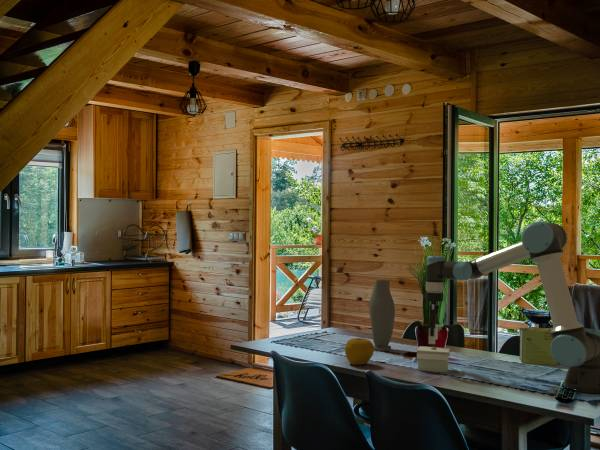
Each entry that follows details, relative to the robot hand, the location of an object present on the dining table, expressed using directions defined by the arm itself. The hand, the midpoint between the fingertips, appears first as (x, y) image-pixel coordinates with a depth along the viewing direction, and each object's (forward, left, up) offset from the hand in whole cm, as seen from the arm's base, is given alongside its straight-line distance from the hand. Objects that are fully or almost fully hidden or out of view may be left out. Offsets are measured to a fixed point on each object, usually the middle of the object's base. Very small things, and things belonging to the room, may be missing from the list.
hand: (433, 341), depth 274 cm
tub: (0, 0, -12) cm, 12 cm away
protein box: (+37, -45, -12) cm, 60 cm away
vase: (+43, +29, -12) cm, 53 cm away
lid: (0, 0, -4) cm, 4 cm away
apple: (-1, +32, -12) cm, 34 cm away
